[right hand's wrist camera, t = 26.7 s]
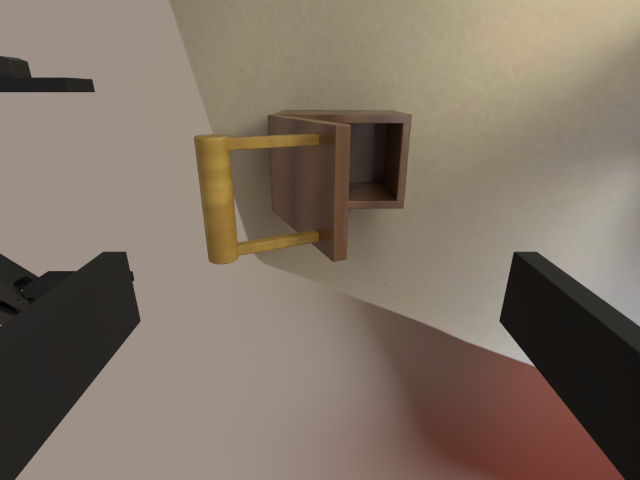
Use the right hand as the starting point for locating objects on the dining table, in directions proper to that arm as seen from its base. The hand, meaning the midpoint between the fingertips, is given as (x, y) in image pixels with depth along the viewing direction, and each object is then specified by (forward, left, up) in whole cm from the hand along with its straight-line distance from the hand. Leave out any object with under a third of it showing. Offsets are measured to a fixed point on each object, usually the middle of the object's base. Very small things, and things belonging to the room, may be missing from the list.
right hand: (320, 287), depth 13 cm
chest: (-1, +2, -34) cm, 34 cm away
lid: (0, -1, -18) cm, 18 cm away
